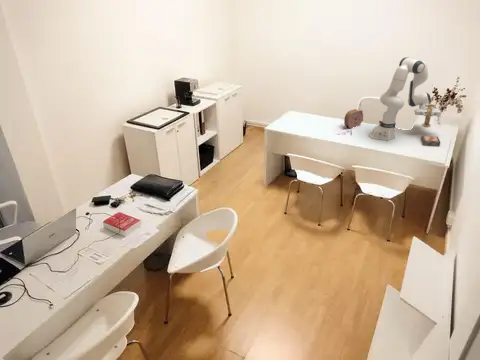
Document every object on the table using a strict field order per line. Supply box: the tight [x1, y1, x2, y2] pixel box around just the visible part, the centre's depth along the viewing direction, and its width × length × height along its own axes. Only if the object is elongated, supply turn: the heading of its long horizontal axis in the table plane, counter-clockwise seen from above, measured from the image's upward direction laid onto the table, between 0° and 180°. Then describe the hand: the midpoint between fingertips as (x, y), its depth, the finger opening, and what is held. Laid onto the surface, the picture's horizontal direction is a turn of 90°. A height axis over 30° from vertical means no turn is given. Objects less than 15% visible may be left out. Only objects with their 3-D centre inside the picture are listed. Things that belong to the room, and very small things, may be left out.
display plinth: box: [420, 135, 441, 147], centre depth 311 cm, size 13×12×4 cm
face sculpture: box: [343, 108, 364, 129], centre depth 352 cm, size 20×7×17 cm, turn 119°
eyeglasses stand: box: [421, 103, 437, 128], centre depth 312 cm, size 8×7×20 cm
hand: (428, 115), depth 311 cm, fingers closed on eyeglasses stand, 4 cm apart
